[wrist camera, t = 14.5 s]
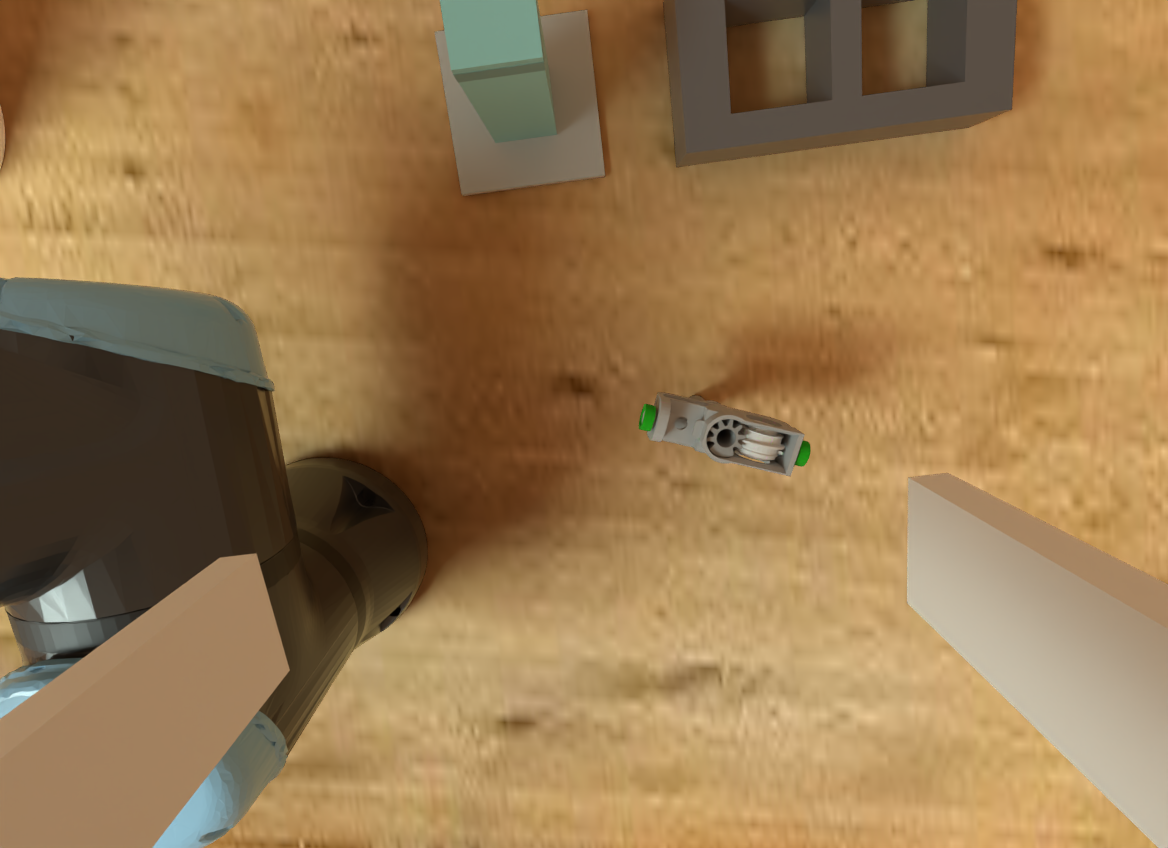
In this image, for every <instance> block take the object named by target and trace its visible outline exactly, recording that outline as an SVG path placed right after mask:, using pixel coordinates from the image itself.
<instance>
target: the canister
mask: <svg viewBox="0 0 1168 848" xmlns="http://www.w3.org/2000/svg"><path fill="white" fill-rule="evenodd" d="M4 151H5V126H4V119H3V114H2V109H1V106H0V169H1V166H2V162H3V158H4Z"/></svg>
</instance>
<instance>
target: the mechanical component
mask: <svg viewBox="0 0 1168 848" xmlns="http://www.w3.org/2000/svg"><path fill="white" fill-rule="evenodd" d="M639 429H641V430H645V431H647V435H648V438H649V440H652V441H657V442H661V440H663V441H667V442H671V443H676V444H680V445H684V446H689V447H693V448H694V449H695V451H698V452H702V453H706V454H707V455H708V456H709V457H710V458H711V459H712V460H714V461H716V462H719V463H734V464H738V465H743V466H747V467H751V468H756V469H760V470H765V471H769V472H773V473H778V474H782V475H786V476H791V473H792V470H793V467H794V465H797V466H804V465H805V464H806V463H807V461H808V459H809V456H810V444H809V442H807V441H803V438H804V434H803V433H801V432H800V431H798V430H797V429H795V428H793V427H791V426H790V425H788V424H787V423H785V422H782V421H780V420H777V419H774V418H771V417H767V416H763V415H759V414H755V413H751V412H746V411H742V410H738V409H733V408H729V407H727V406H724V405H721V404H720V403H718V402H716V401H711V400H708V401H705V400H704V399H703V398H702V397H701V396H698V395H693V396H691V397H690V398H687V397H682V396H678V395H674V394H669V393H662V392H659V393H657V397H656V401H655V404H654V406H653V405H648V404H644V406H643V409H642V412H641V416H640V421H639ZM739 455H744V456H747V457H749V458H752V459H756V460H760V461H762V462H764V463H759V462H755V461H751V460H748V459H746V458H743V457H741V456H739Z"/></svg>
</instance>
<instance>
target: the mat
mask: <svg viewBox="0 0 1168 848" xmlns="http://www.w3.org/2000/svg"><path fill="white" fill-rule="evenodd" d="M540 18H541V24H542V30H543V36H544V42H545V48H546V54H547V60H548V67H549V74H550V82H551V90H552V98H553V106H554V114H555V122H556V130H557V135H551V136H544V137H536V138H529V139H522V140H515V141H507V142H500V143H495V141H494V140H493V138H492V136H491V135H490V133H489V131H488V130H487V128H486V127H485V125H484V123H483V122H482V120H481V118H480V117H479V115H478V113H477V112H476V110H475V109H474V107H473V105H472V104H471V102H470V100H469V99H468V97H467V96H466V94H465V92H464V91H463V89H462V87H461V86H460V84H459V83H458V82H457V80H456V79H455V77H454V75H453V73H452V71H451V67H450V61H449V55H448V49H447V42H446V36H445V30H443V31H436V32H435V37H436V43H437V49H438V55H439V61H440V67H441V73H442V80H443V86H444V92H445V98H446V104H447V110H448V116H449V122H450V128H451V134H452V140H453V146H454V152H455V158H456V164H457V170H458V176H459V182H460V188H461V194H462V195H463V196H467V195H474V194H482V193H489V192H497V191H504V190H511V189H519V188H526V187H533V186H541V185H548V184H556V183H563V182H570V181H578V180H585V179H593V178H600V177H605V170H604V160H603V151H602V142H601V133H600V124H599V114H598V105H597V96H596V87H595V78H594V68H593V59H592V50H591V41H590V31H589V22H588V13H587V10H581V11H574V12H567V13H560V14H553V15H546V16H540Z"/></svg>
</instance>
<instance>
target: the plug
mask: <svg viewBox="0 0 1168 848" xmlns="http://www.w3.org/2000/svg"><path fill="white" fill-rule="evenodd" d="M440 5H441V12H442V18H443V24H444V30H445V36H446V42H447V49H448V55H449V61H450V67H451V71H452V73H453V75H454V77H455V79H456V80H457V82H458V83H459V84H460V86H461V87H462V89H463V91H464V92H465V94H466V96H467V97H468V99H469V100H470V102H471V104H472V105H473V107H474V109H475V110H476V112H477V113H478V115H479V117H480V118H481V120H482V122H483V123H484V125H485V127H486V128H487V130H488V131H489V133H490V135H491V136H492V138H493V140H494V141H495V143H500V142H507V141H515V140H522V139H529V138H536V137H544V136H551V135H557V130H556V122H555V114H554V106H553V98H552V90H551V82H550V74H549V67H548V60H547V54H546V48H545V42H544V36H543V30H542V24H541V18H540V12H539V6H538V0H440Z"/></svg>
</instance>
